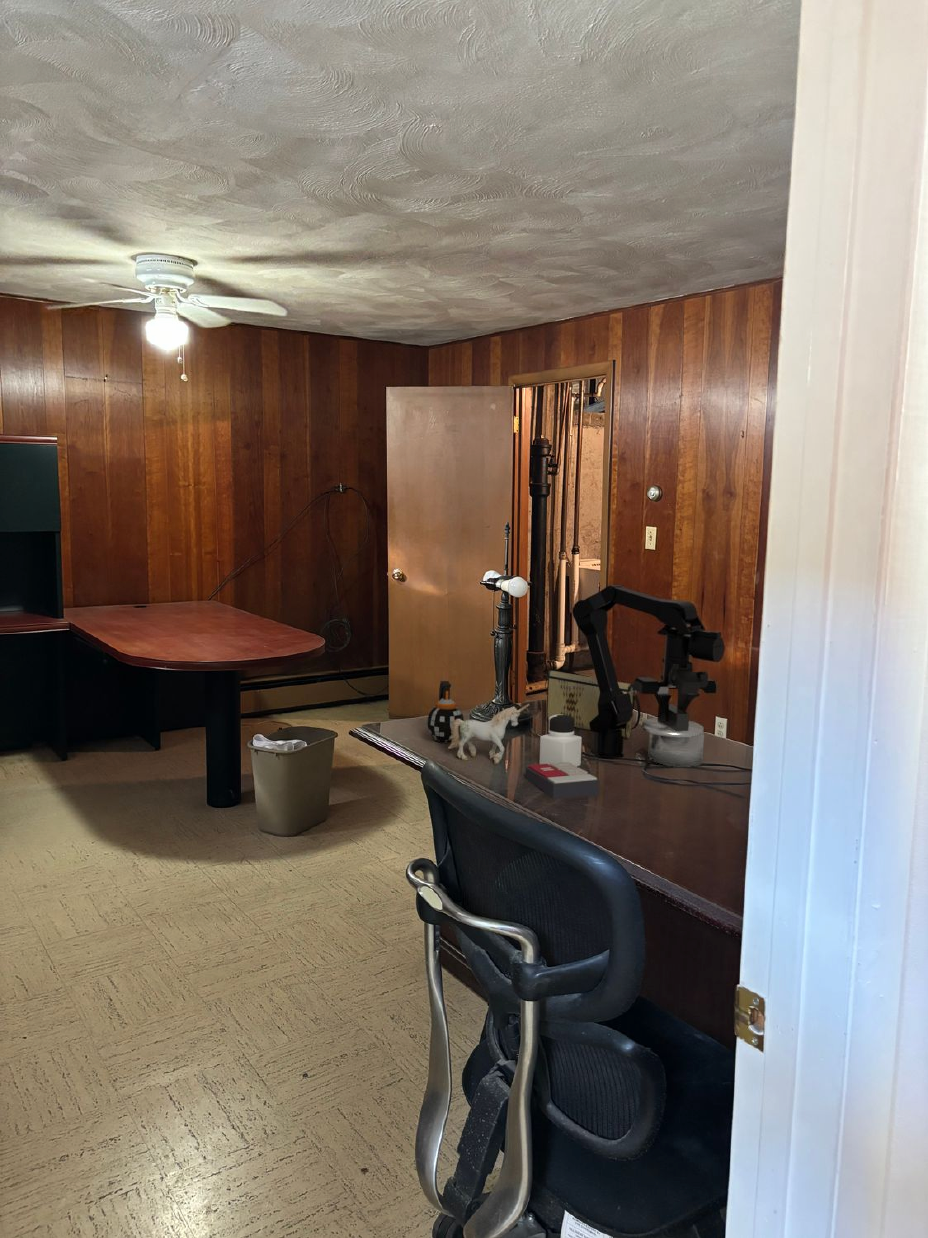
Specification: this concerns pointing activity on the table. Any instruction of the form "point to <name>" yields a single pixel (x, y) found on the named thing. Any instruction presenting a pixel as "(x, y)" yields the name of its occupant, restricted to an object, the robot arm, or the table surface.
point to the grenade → (443, 715)
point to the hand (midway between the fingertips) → (672, 721)
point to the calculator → (562, 780)
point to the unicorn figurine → (483, 732)
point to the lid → (673, 724)
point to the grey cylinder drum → (676, 750)
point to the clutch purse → (581, 698)
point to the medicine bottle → (560, 742)
